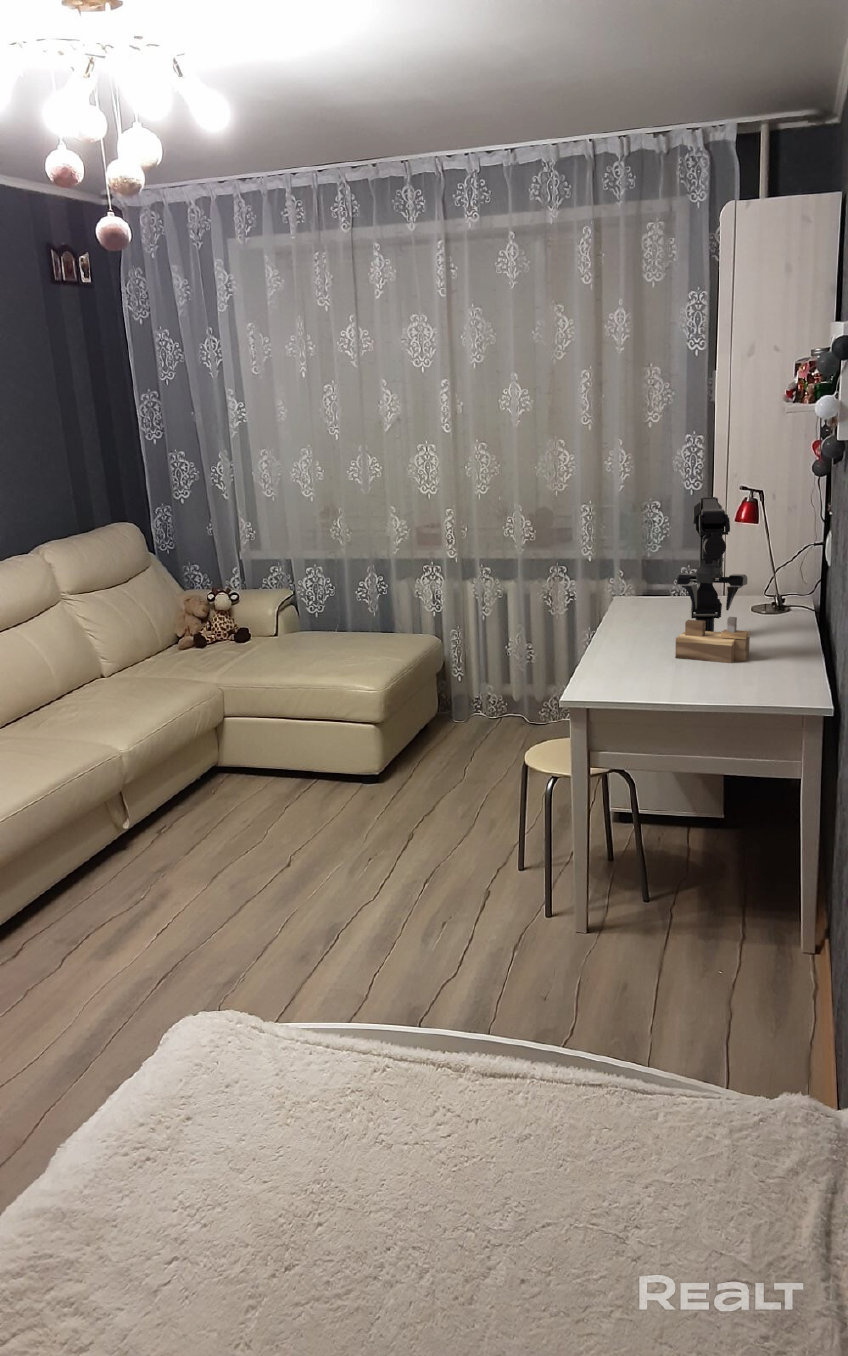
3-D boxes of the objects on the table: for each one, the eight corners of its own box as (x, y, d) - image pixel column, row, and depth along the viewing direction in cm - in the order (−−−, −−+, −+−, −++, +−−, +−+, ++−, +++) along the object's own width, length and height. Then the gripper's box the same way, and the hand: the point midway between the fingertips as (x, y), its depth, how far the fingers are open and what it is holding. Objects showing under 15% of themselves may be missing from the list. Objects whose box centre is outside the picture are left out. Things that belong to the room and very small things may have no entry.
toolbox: (686, 649, 315) (687, 629, 313) (751, 654, 305) (752, 634, 304) (675, 658, 306) (675, 637, 304) (741, 663, 296) (742, 643, 295)
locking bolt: (724, 634, 304) (725, 615, 303) (749, 636, 301) (750, 617, 299) (720, 637, 301) (721, 618, 299) (745, 639, 297) (746, 620, 296)
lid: (687, 633, 313) (687, 616, 312) (741, 637, 305) (742, 620, 304) (675, 641, 304) (676, 624, 303) (731, 645, 296) (732, 628, 295)
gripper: (671, 556, 297) (670, 611, 300) (738, 557, 288) (736, 614, 291) (683, 554, 307) (682, 607, 309) (748, 554, 297) (747, 609, 300)
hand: (711, 609), depth 302 cm, fingers open, 9 cm apart
